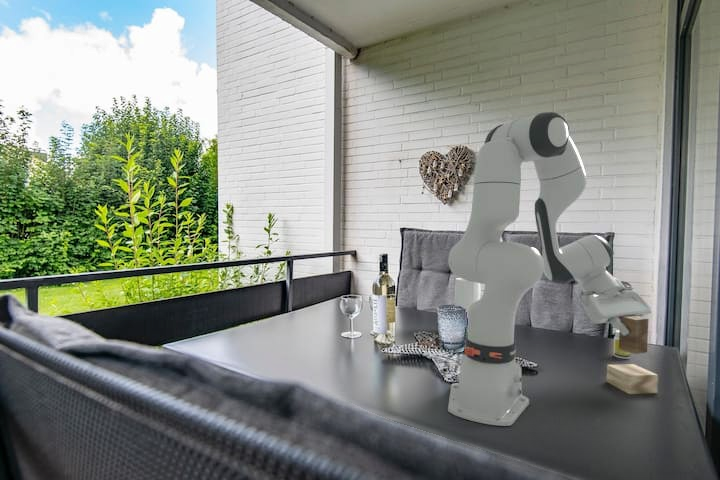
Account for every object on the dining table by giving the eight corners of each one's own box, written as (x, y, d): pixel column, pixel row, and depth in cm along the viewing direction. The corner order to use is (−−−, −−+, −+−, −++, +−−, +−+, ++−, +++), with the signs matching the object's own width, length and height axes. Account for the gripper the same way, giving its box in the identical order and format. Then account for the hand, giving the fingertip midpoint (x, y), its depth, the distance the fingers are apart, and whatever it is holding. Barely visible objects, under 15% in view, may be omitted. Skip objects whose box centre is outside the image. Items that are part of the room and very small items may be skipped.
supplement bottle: (632, 359, 130) (634, 334, 129) (616, 358, 130) (617, 333, 130) (626, 355, 134) (627, 330, 134) (610, 353, 135) (611, 329, 135)
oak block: (628, 394, 103) (629, 375, 102) (606, 382, 111) (607, 364, 110) (657, 393, 103) (658, 374, 103) (633, 381, 111) (633, 364, 111)
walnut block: (635, 354, 104) (636, 320, 103) (618, 348, 108) (620, 316, 108) (647, 352, 105) (648, 318, 105) (630, 347, 110) (631, 315, 109)
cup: (483, 331, 161) (484, 278, 160) (475, 337, 152) (477, 281, 152) (458, 327, 167) (459, 276, 166) (449, 333, 158) (450, 279, 157)
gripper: (583, 286, 109) (616, 330, 100) (635, 282, 116) (670, 323, 107) (569, 299, 113) (599, 342, 104) (619, 295, 120) (652, 335, 112)
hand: (635, 333), depth 106 cm, fingers closed on walnut block, 4 cm apart
